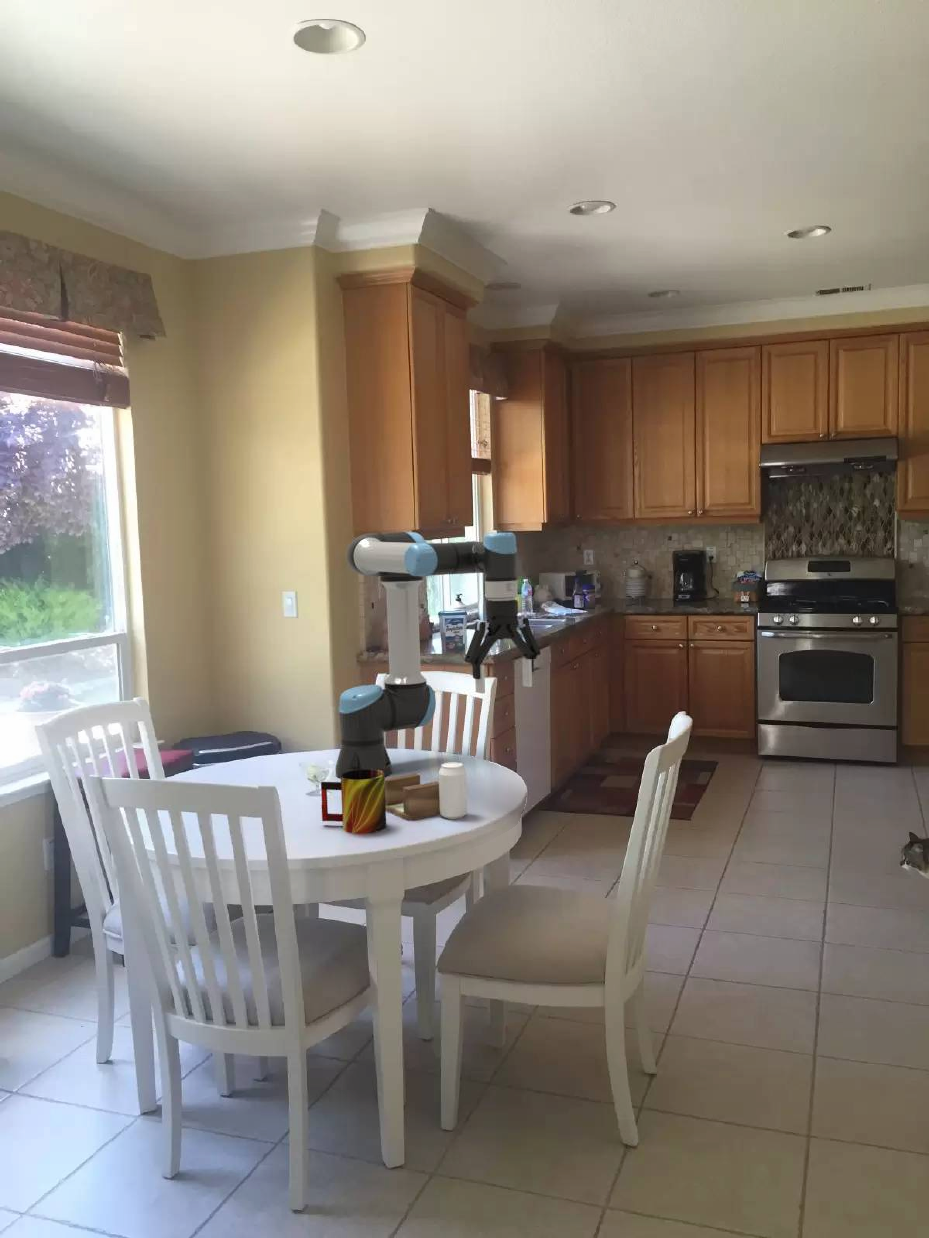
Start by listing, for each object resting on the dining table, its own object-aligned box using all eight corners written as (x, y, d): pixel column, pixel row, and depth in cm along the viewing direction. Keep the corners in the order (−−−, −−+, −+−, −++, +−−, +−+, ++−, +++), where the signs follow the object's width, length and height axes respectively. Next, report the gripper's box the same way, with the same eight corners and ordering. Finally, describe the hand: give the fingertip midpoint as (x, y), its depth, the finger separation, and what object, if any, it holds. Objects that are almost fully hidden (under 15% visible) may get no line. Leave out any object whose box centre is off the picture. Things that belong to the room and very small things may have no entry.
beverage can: (437, 819, 231) (435, 767, 230) (442, 812, 237) (441, 761, 236) (464, 820, 230) (463, 768, 229) (469, 812, 236) (467, 761, 235)
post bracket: (380, 808, 242) (379, 779, 241) (417, 801, 247) (416, 772, 247) (408, 820, 231) (406, 790, 231) (445, 812, 237) (444, 783, 236)
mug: (322, 825, 230) (319, 772, 229) (383, 819, 233) (381, 767, 232) (325, 837, 221) (323, 782, 220) (389, 831, 224) (387, 777, 222)
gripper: (466, 603, 228) (469, 697, 230) (553, 596, 242) (555, 685, 244) (447, 602, 235) (450, 693, 236) (534, 595, 248) (536, 681, 250)
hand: (504, 689), depth 240 cm, fingers open, 13 cm apart
